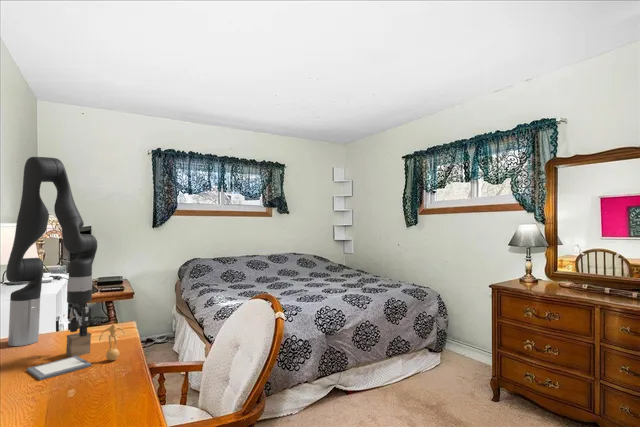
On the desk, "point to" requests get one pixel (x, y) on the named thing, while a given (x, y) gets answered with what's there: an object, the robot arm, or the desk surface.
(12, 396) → the desk surface
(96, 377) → the desk surface
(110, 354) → the figurine
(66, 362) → the mat
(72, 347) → the walnut box
